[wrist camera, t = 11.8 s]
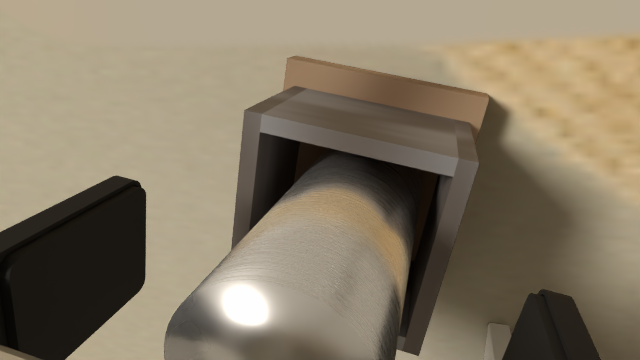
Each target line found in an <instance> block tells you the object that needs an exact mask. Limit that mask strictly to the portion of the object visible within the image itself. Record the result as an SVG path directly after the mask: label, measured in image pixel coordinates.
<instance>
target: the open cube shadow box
mask: <svg viewBox="0 0 640 360" xmlns="http://www.w3.org/2000/svg"><path fill="white" fill-rule="evenodd" d="M488 101H489V97H488V95H487V94H486V93H481V92H476V91H471V90H466V89H461V88H456V87H451V86H446V85H441V84H436V83H431V82H425V81H420V80H415V79H410V78H405V77H400V76H395V75H390V74H385V73H380V72H375V71H370V70H365V69H360V68H355V67H350V66H345V65H340V64H335V63H330V62H325V61H320V60H314V59H309V58H304V57H299V56H293V57H290V58H287V64H286V72H285V80H284V88H283V92H281V93H279V94H276V95H274V96H272V97H270V98H268V99H266V100H264V101H262V102H260V103H258V104H256V105H254V106H252V107H250V108H248V109H246V110H244V120H243V131H242V141H241V152H240V163H239V173H238V184H237V195H236V205H235V216H234V227H233V237H232V248H231V251H232V250H233V249H234V248H235V246H236V245H237V244H238V243H239V242H240V241H241V240H242V239H243V238H244V237H245V236H246V235H247V234H248V233H249V232H250V231H251V230H252V228H253V227H254V226H255V225H256V224H257V223H258V222H259V221H260V220H261V219H262V218H263V217H264V216H265V215H266V214H267V213H268V211H269V210H270V209H271V208H272V207H273V206H274V205H275V204H276V203H277V202H278V201H279V200H280V199H281V198H282V197H283V196H284V194H285V193H286V192H287V191H288V190H289V189H290V188H291V187H292V186H293V185H294V184H295V183H296V182H297V181H298V180H299V179H300V177H301V176H302V175H303V174H304V173H305V172H306V171H307V170H308V169H309V168H310V167H311V166H312V165H313V164H314V163H315V162H316V160H317V159H318V158H319V157H320V156H321V155H322V154H323V153H324V152H325V151H326V150H327V149H328V148H331V149H335V150H340V151H344V152H348V153H352V154H357V155H361V156H365V157H370V158H374V159H378V160H383V161H387V162H391V163H395V164H400V165H404V166H408V167H413V168H417V169H419V171H420V175H421V180H422V193H421V199H420V205H419V212H418V218H417V224H416V230H415V237H414V243H413V249H412V255H411V262H410V268H409V274H408V280H407V287H406V293H405V299H404V305H403V312H402V318H401V324H400V330H399V337H398V343H397V349H398V350H401V351H404V352H407V353H411V354H414V355H417V356H419V353H420V350H421V347H422V344H423V340H424V337H425V334H426V331H427V328H428V325H429V321H430V318H431V315H432V312H433V309H434V306H435V302H436V299H437V296H438V293H439V290H440V287H441V283H442V280H443V277H444V274H445V271H446V267H447V264H448V261H449V258H450V255H451V252H452V248H453V245H454V242H455V239H456V236H457V233H458V229H459V226H460V223H461V220H462V217H463V214H464V210H465V207H466V204H467V201H468V198H469V194H470V191H471V188H472V185H473V182H474V179H475V175H476V172H477V169H478V166H479V160H478V156H477V152H476V148H475V144H476V141H477V137H478V134H479V131H480V128H481V124H482V121H483V118H484V115H485V111H486V108H487V105H488Z"/></svg>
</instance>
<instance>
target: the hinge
mask: <svg viewBox="0 0 640 360" xmlns="http://www.w3.org/2000/svg"><path fill="white" fill-rule="evenodd" d="M510 338H511V332H510V328H509V325H503V324H495V323H489V324H488V331H487V338H486V346H485V353H484V360H502V358H503V355H504V353H505V351H506V348H507V346H508V343H509V341H510Z"/></svg>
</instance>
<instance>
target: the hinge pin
mask: <svg viewBox="0 0 640 360" xmlns="http://www.w3.org/2000/svg"><path fill="white" fill-rule="evenodd" d="M421 193H422V180H421V175H420V171H419V169H417V168H413V167H408V166H404V165H400V164H395V163H391V162H387V161H383V160H378V159H374V158H370V157H365V156H361V155H357V154H352V153H348V152H344V151H340V150H335V149H331V148H328V149H327V150H326V151H325V152H324V153H323V154H322V155H321V156H320V157H319V158H318V159H317V160H316V162H315V163H314V164H313V165H312V166H311V167H310V168H309V169H308V170H307V171H306V172H305V173H304V174H303V175H302V176H301V177H300V179H299V180H298V181H297V182H296V183H295V184H294V185H293V186H292V187H291V188H290V189H289V190H288V191H287V192H286V193H285V194H284V196H283V197H282V198H281V199H280V200H279V201H278V202H277V203H276V204H275V205H274V206H273V207H272V208H271V209H270V210H269V211H268V213H267V214H266V215H265V216H264V217H263V218H262V219H261V220H260V221H259V222H258V223H257V224H256V225H255V226H254V227H253V228H252V230H251V231H250V232H249V233H248V234H247V235H246V236H245V237H244V238H243V239H242V240H241V241H240V242H239V243H238V244H237V245H236V246H235V248H234V249H233V250H232V251H231V252H230V253H229V254H228V255H227V256H226V257H225V258H224V259H223V260H222V261H221V262H220V263H219V265H218V266H217V267H216V268H215V269H214V270H213V271H212V272H211V273H210V274H209V275H208V276H207V277H206V278H205V279H204V280H203V282H202V283H201V284H200V285H199V286H198V287H197V288H196V289H195V290H194V291H193V292H192V293H191V294H190V295H189V296H188V297H187V299H186V300H185V301H184V302H183V303H182V304H181V305H180V306H179V308H178V309H177V310H176V312H175V313H174V314H173V316H172V318H171V320H170V322H169V324H168V328H167V331H166V335H165V342H164V359H165V360H395V355H396V349H397V343H398V337H399V330H400V324H401V318H402V312H403V305H404V299H405V293H406V287H407V280H408V274H409V268H410V262H411V255H412V249H413V243H414V237H415V230H416V224H417V218H418V212H419V205H420V199H421Z"/></svg>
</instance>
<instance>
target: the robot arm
mask: <svg viewBox="0 0 640 360" xmlns="http://www.w3.org/2000/svg"><path fill="white" fill-rule="evenodd" d="M145 258H146V192H145V190H144V189H143V188H141V185H140V183H139V182H138V181H135V180H131V179H128V178H124V177H120V176H113V177H111V178H109V179H107V180H105V181H103V182H101V183H99V184H97V185H95V186H93V187H90V188H88V189H86V190H84V191H82V192H80V193H78V194H76V195H74V196H72V197H70V198H68V199H66V200H64V201H62V202H60V203H58V204H56V205H54V206H52V207H50V208H48V209H46V210H44V211H42V212H40V213H38V214H36V215H34V216H32V217H30V218H28V219H26V220H24V221H22V222H20V223H18V224H16V225H14V226H12V227H10V228H8V229H6V230H4V231H2V232H0V360H65V359H66V358H67V357H68V356H69V355H70V354H72V353H73V352H74V351H75V350H76V349H77V348H78V347H79V346H80V345H81V344H82V343H83V342H85V341H86V340H87V339H88V338H89V337H90V336H91V335H92V334H93V333H94V332H95V331H97V330H98V329H99V328H100V327H101V326H102V325H103V324H104V323H105V322H106V321H107V320H109V319H110V318H111V317H112V316H113V315H114V314H115V313H116V312H117V311H118V310H119V309H121V308H122V307H123V306H124V305H125V304H126V303H127V302H128V301H129V300H130V299H131V298H133V297H134V296H135V295H136V294H137V293H138V292H139V291H140V290H141V288H142V286H143V284H144V281H145ZM502 360H601V359H600V357H599V354H598V352H597V350H596V348H595V346H594V344H593V341H592V339H591V337H590V335H589V333H588V330H587V328H586V326H585V324H584V322H583V320H582V317H581V315H580V313H579V311H578V309H577V307H576V304H575V302H574V300H573V299H572V297H570V296H567V295H563V294H559V293H555V292H552V291H548V290H544V289H542V290H540V291H539V293H538V294H533V293H531V294H529V296H528V297H527V299H526V302H525V304H524V307H523V309H522V312H521V314H520V316H519V319H518V321H517V324H516V326H515V329H514V331H513V334H512V336H511V338H510V341H509V343H508V346H507V348H506V351H505V353H504V355H503V358H502Z"/></svg>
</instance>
